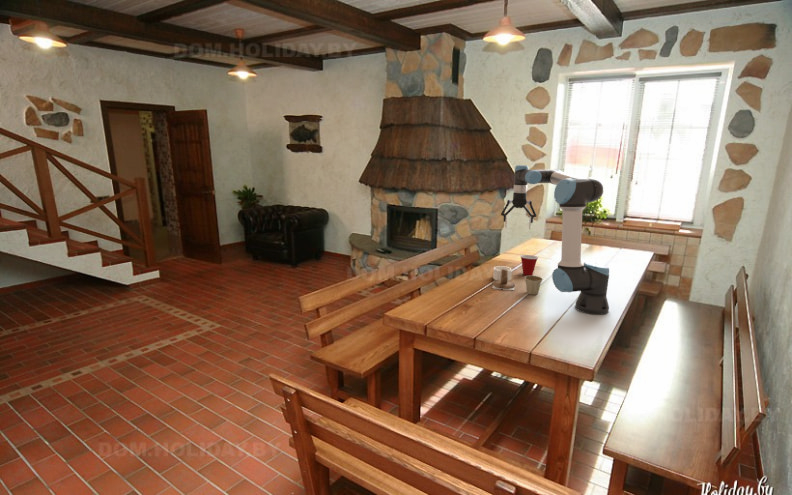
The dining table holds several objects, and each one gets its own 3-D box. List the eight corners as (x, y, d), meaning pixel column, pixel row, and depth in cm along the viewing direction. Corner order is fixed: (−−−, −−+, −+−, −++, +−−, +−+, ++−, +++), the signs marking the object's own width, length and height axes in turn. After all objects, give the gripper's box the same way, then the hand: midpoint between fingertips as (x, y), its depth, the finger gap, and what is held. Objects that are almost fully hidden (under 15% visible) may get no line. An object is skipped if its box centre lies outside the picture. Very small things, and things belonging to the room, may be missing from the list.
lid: (515, 283, 245) (516, 268, 242) (514, 289, 233) (515, 273, 231) (494, 281, 248) (495, 266, 246) (492, 287, 237) (493, 272, 235)
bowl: (511, 277, 258) (511, 266, 256) (510, 282, 248) (511, 271, 247) (494, 275, 261) (494, 265, 259) (492, 280, 251) (493, 270, 250)
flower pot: (544, 292, 230) (545, 278, 228) (536, 297, 224) (538, 282, 221) (528, 289, 236) (529, 274, 234) (520, 293, 230) (521, 278, 228)
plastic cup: (539, 273, 264) (540, 255, 262) (534, 278, 256) (535, 259, 253) (522, 270, 270) (523, 253, 267) (516, 275, 262) (518, 256, 259)
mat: (515, 284, 245) (515, 283, 245) (514, 290, 234) (514, 289, 234) (494, 282, 248) (494, 281, 248) (492, 288, 237) (492, 287, 237)
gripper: (542, 192, 243) (539, 227, 248) (498, 190, 250) (496, 225, 255) (542, 193, 236) (539, 230, 241) (497, 192, 243) (495, 227, 248)
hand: (517, 227), depth 248 cm, fingers open, 13 cm apart
